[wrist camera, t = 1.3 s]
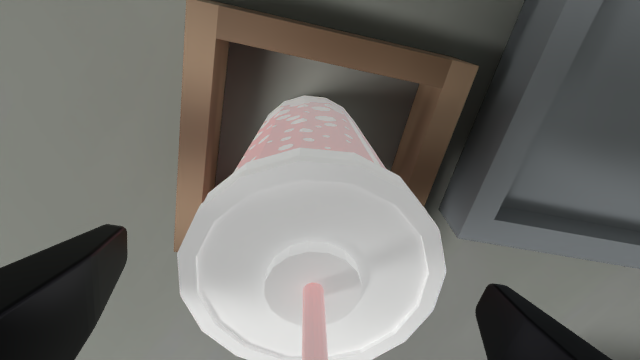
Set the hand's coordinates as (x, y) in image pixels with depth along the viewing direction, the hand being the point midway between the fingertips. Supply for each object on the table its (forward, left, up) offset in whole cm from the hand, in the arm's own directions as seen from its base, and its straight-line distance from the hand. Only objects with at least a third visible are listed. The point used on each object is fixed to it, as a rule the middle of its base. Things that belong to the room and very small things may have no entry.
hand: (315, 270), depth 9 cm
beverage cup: (0, 0, -9) cm, 9 cm away
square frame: (0, 0, -8) cm, 8 cm away
